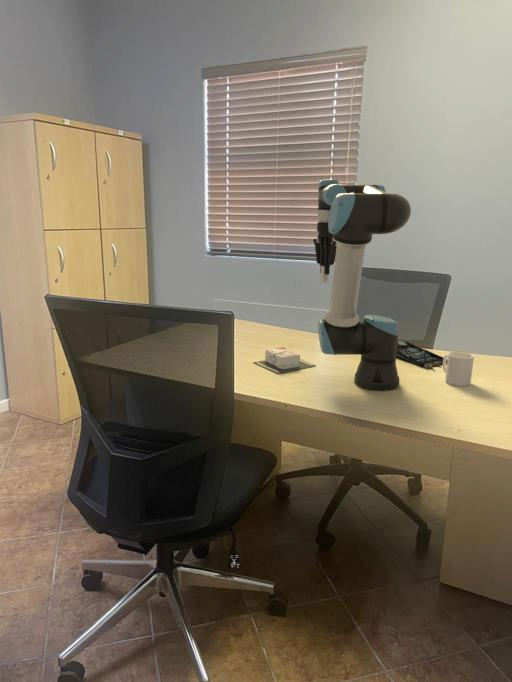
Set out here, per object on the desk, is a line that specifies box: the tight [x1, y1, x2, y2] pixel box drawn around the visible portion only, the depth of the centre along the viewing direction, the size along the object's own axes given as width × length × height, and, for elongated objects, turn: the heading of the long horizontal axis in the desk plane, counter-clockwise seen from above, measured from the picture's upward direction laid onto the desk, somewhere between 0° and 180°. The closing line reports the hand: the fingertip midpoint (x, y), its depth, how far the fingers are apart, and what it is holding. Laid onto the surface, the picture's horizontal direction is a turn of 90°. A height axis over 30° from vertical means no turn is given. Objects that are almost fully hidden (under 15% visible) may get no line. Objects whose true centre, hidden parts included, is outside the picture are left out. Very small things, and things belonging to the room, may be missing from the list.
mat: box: [252, 358, 317, 375], centre depth 200 cm, size 16×18×1 cm
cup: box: [442, 351, 475, 388], centre depth 182 cm, size 8×12×10 cm
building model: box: [396, 340, 448, 372], centre depth 208 cm, size 14×7×30 cm
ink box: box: [264, 346, 301, 369], centre depth 199 cm, size 9×5×12 cm
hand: (324, 282), depth 207 cm, fingers closed
